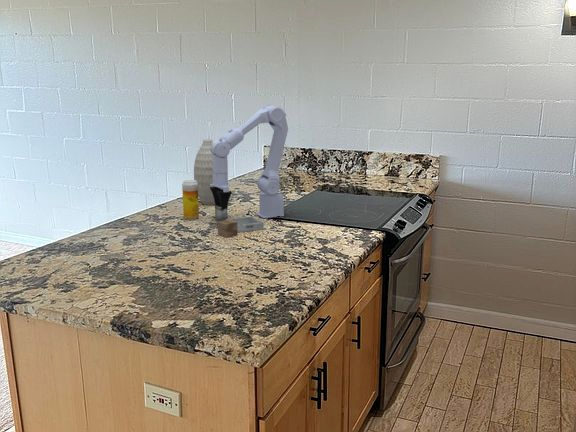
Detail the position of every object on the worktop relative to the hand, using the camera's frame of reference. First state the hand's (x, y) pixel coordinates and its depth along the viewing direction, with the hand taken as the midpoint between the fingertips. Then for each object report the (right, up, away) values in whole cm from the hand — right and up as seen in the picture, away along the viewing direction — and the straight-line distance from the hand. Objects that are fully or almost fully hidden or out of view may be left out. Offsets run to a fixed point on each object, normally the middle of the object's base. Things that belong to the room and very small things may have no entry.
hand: (220, 206), depth 226 cm
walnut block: (+5, -11, -18) cm, 21 cm away
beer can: (-12, -5, +5) cm, 14 cm away
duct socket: (+10, -8, -8) cm, 15 cm away
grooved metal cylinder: (0, -5, +1) cm, 6 cm away
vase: (-8, +2, +30) cm, 31 cm away
